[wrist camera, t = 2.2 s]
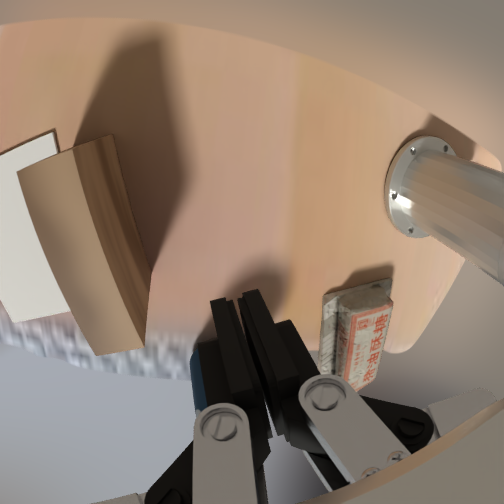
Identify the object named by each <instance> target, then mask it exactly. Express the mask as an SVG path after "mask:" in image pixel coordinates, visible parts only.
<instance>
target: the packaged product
mask: <svg viewBox="0 0 504 504" xmlns="http://www.w3.org/2000/svg"><path fill="white" fill-rule="evenodd" d="M391 286H392V279H391V278H387V279H383V280H379V281H375V282H371V283H367V284H364V285H360V286H356V287H353V288H349V289H345V290H341V291H337V292H333V293H329V294H325V295H324V296H323V302H322V321H321V330H320V344H319V350H318V370H319V372H320V374H332V375H337V376H339V377H341V378H343V379H344V380H345V381H347V382H348V383H349V384H350V385H351V387H352V388H353V389H354V390H355V391H356V392H357V391H358V390H360V389H361V388H363V387H364V386H365V385H367V384H369V383H370V382H372V381H373V380H374V379H375V377H376V373H377V370H378V367H379V363H380V359H381V355H382V351H383V347H384V343H385V339H386V335H387V330H388V326H389V322H390V317H391V312H392V309H393V301H392V300H391V298H390V292H391Z"/></svg>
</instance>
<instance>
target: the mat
mask: <svg viewBox="0 0 504 504" xmlns="http://www.w3.org/2000/svg"><path fill="white" fill-rule="evenodd" d="M57 153H59V152H58V148H57V144H56V139H55V135H54V132H52V133H49V134H47V135H45V136H42V137H40V138H37V139H35V140H33V141H31V142H28V143H26V144H24V145H22V146H20V147H17V148H15V149H13V150H11V151H9V152H7V153H5V154H3V155H1V156H0V300H1V302H2V303H3V305H4V307H5V309H6V311H7V312H8V314H9V316H10V318H11V319H12V321H13V323H16V322H21V321H25V320H30V319H35V318H40V317H45V316H49V315H54V314H59V313H63V312H68V311H71V310H70V308H69V306H68V304H67V302H66V300H65V298H64V296H63V294H62V292H61V290H60V288H59V286H58V284H57V282H56V280H55V277H54V275H53V273H52V271H51V268H50V266H49V264H48V261H47V259H46V257H45V254H44V252H43V249H42V247H41V244H40V242H39V239H38V237H37V234H36V231H35V229H34V226H33V223H32V220H31V217H30V215H29V212H28V209H27V206H26V203H25V199H24V196H23V193H22V190H21V186H20V183H19V180H18V176H17V171H19V170H21V169H23V168H25V167H27V166H29V165H32V164H34V163H36V162H38V161H40V160H43V159H45V158H47V157H50V156H52V155H54V154H57Z"/></svg>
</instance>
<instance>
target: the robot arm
mask: <svg viewBox="0 0 504 504" xmlns="http://www.w3.org/2000/svg"><path fill="white" fill-rule="evenodd" d="M384 198H385V207H386V210H387V214H388V217H389V219H390V221H391V223H392V224H393V225H394V226H395V228H396V229H397V230H399V231H400V232H402V233H403V234H405V235H406V236H408V237H412V238H424V237H427V236H432V237H434V238H435V239H437V240H438V241H440V242H441V243H443V244H444V245H446V246H447V247H449V248H450V249H452V250H453V251H455V252H456V253H458V254H459V255H461V256H462V257H464V258H465V259H467V260H468V261H470V262H471V263H472V264H474V265H475V266H477V267H478V268H479V269H481V270H482V271H484V272H485V273H487V274H488V275H489V276H491V277H492V278H493V279H495V280H496V281H498V282H499V283H500V284H502V285H503V286H504V173H503V172H500V171H497V170H495V169H492V168H489V167H487V166H484V165H481V164H478V163H475V162H472V161H469V160H466V159H463V158H460V157H457V155H456V154H455V152H454V150H453V149H452V147H451V146H450V145H449V144H448V143H447V142H445V141H444V140H442V139H440V138H437V137H433V136H420V137H416V138H414V139H412V140H411V141H409V142H407V143H406V144H405V145H404V146H403V147H402V148H401V149H400V150H399V152H398V153H397V155H396V156H395V158H394V160H393V161H392V163H391V165H390V168H389V171H388V174H387V178H386V183H385V195H384ZM242 295H243V297H242V298H238V305H239V309H240V314H241V318H242V323H243V327H244V332H245V336H246V339H245V336H244V333H243V330H242V327H241V324H240V321H239V318H238V315H237V312H236V309H235V306H234V303H233V300H230V301H226V298H225V297H224V298H220V299H216V300H212V301H210V304H211V309H212V314H213V318H214V323H215V327H216V332H217V336H218V339H214V340H210V341H206V342H202V343H198V353H199V360H200V366H201V372H202V378H203V384H204V390H205V396H206V402H207V408H205V409H204V410H203V411H202V412H201V413H200V414H199V415H198V417H197V418H196V420H195V425H194V439H193V441H192V442H191V443H190V444H189V445H188V447H187V448H186V449H185V450H184V451H183V452H182V453H181V455H180V456H179V457H178V458H177V459H176V460H175V461H174V463H173V464H172V465H171V466H170V467H169V468H168V469H167V470H166V471H165V472H164V473H163V475H162V476H161V477H160V478H159V479H158V480H157V481H156V482H155V483H154V484H153V485H152V486H151V488H150V489H149V490H148V492H146V493H143V494H139V495H138V494H137V493H134V494H130V495H126V496H122V497H119V498H114V499H110V500H106V501H102V502H97V503H92V504H268V496H267V489H266V481H265V473H264V466H263V463H264V461H265V460H266V458H267V457H268V455H269V454H270V452H271V450H270V446H269V443H268V439H269V438H272V437H273V436H272V431H271V427H270V422H269V418H268V413H267V409H266V405H267V407H268V410H269V413H270V416H271V418H272V421H273V424H274V427H275V430H276V432H277V435H278V436H279V435H283V434H284V436H285V439H286V441H287V442H290V444H291V446H293V447H296V448H299V449H302V450H303V453H304V455H305V456H306V458H307V459H308V461H309V462H310V464H311V466H312V467H313V469H314V470H315V472H316V473H317V475H318V476H319V478H320V479H321V481H322V482H323V484H324V485H325V487H326V488H327V489H328V491H329V493H327V494H324V495H321V496H318V497H315V498H313V499H309V500H307V501H303V502H300V503H297V504H504V398H503V399H501V400H499V401H497V400H496V398H495V396H494V395H493V394H492V393H491V392H490V391H488V390H487V389H483V388H477V389H473V390H470V391H468V392H465V393H462V394H460V395H457V396H454V397H451V398H448V399H445V400H442V401H439V402H436V403H433V404H430V405H428V406H427V408H425V409H422V410H420V409H418V408H414V407H409V406H404V405H399V404H395V403H391V402H386V401H382V400H377V399H373V398H369V397H365V396H361V395H358V393H357V392H356V391H355V390H354V389H353V388H352V387H351V385H350V384H349V383H348V382H347V381H345V380H344V379H343V378H341V377H339V376H337V375H332V374H320V372H319V370H318V368H317V366H316V364H315V363H314V361H313V359H312V357H311V355H310V354H309V352H308V350H307V348H306V346H305V344H304V343H303V341H302V339H301V337H300V335H299V334H298V332H297V330H296V328H295V326H294V324H293V323H292V321H291V320H290V319H289V320H286V321H282V322H279V323H274V321H273V319H272V317H271V315H270V313H269V311H268V308H267V306H266V304H265V302H264V300H263V298H262V296H261V294H260V292H259V290H258V289H256V290H252V291H248V292H244V293H242ZM246 341H247V342H246ZM265 402H266V404H265Z"/></svg>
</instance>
